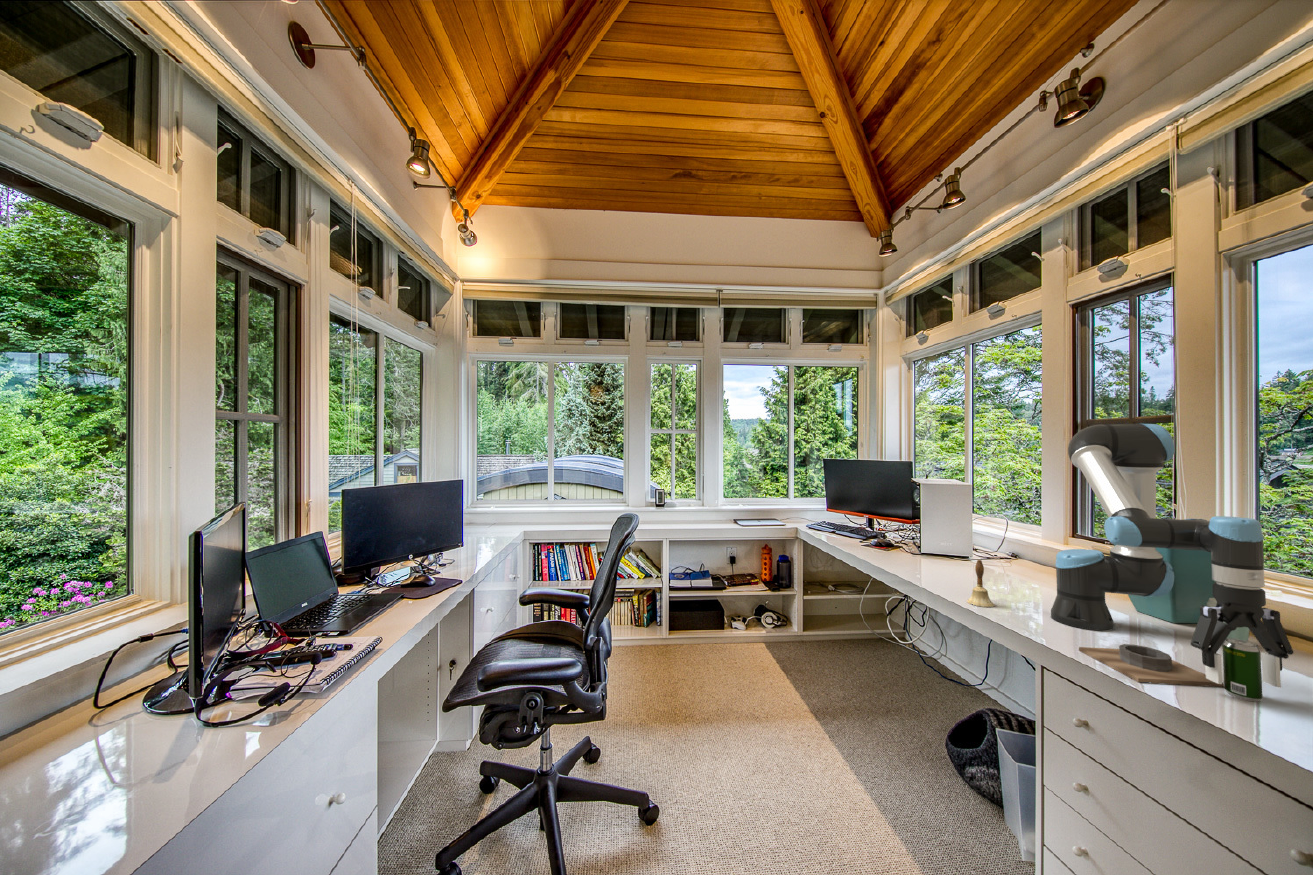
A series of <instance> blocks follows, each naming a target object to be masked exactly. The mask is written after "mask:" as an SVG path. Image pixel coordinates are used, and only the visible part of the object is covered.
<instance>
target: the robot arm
mask: <svg viewBox="0 0 1313 875" xmlns="http://www.w3.org/2000/svg"><path fill="white" fill-rule="evenodd" d="M1175 449H1176V448H1175V442H1174V439H1173V436H1172V435H1171V434H1170V432H1169V431H1168V429H1166V428H1165V427H1164V426H1162V425H1160V424H1156V423H1123V424H1119V423H1117V424H1093V425H1090V426H1088V427H1084V428H1082V429H1080V430H1079V431H1078V432H1077V433H1075V434H1074V435H1073V436H1072V438H1071V440H1070V441H1069V443H1068V446H1067V455H1068V458H1069V460H1070V462H1071V464H1072V465H1073V466H1074V467H1075V468H1078V469H1080V470H1081V472H1082V474H1083V476H1084V479H1086V481H1087V483H1088V484H1089V486H1090V488H1091V489H1092V491H1093V493H1094V494H1095V496H1096V498H1097V500H1098V502H1099V503H1100V505H1101V506H1102V508H1103V509H1104V512H1105V513H1106V515H1107V518H1106V519H1105V521H1104V527H1103V528H1104V532H1105V538H1106V539H1107V540H1108V541H1109V543H1111V544H1113V546H1112V547H1110V549H1109V555H1105V554H1104V553H1103V551H1100V550H1097V549H1087V548H1073V549H1072V548H1071V549H1063V550H1061V551H1059V552H1057V553H1056V556H1055V557H1056V558H1055V564H1054V565H1055V569H1056V570H1055V572H1056V573H1055V574H1056V596H1055V599H1054V601H1053V604H1052V606H1051V608H1050V618H1051V619H1052V620H1054V621H1056V622H1058V623H1060V624H1064V625H1067V626H1070V627H1075V628H1079V629H1085V630H1091V631H1113V630H1114V629H1115V625H1114V624H1115V623H1114V619H1113V616H1112V614H1111V612H1110V609H1109V607H1108V605H1107V603H1106V594H1107V593H1108V594H1109V593H1111V594H1118V595H1119V594H1120V595H1127V596H1128V595H1139V596H1143V597H1148V596H1151V597H1161V596H1164V595H1166V594H1167V593H1169V592H1170V590H1171V589H1172V587H1173V583H1174V572H1173V571H1172V566H1171V565H1170V564H1169V562H1167V561H1166V560H1163V555H1162V554H1160V553H1159V552H1158V551H1157V550H1156V548H1168V549H1184V550H1200V551H1207V552H1210V553H1211V563H1212V580H1214V581H1216V582H1215V583H1213V584H1212V586H1213V597H1214V598H1215V599H1216V601H1217V604H1216V606H1215V607H1207V606H1203V605H1202V606H1200V618H1199V620H1198V623H1196V625H1195V626H1196V627H1195V630H1194V633H1193V636H1192V638H1191V641H1190V646H1192V647H1193V648H1197V649H1199V650H1200V651H1201V656H1202V657H1201V658H1202V661H1201V662H1202V665H1203V666H1205V667H1204V668H1205V669H1204V670H1205V671H1204V672H1205V675H1206V679H1209V680H1211V681H1213V682H1215V683H1217V684H1222V682H1223V672H1222V669H1223V668H1222V667H1223V666H1222V654H1220V653H1217V652H1218V651H1220V648H1221V647H1222V644H1223V643H1224V641H1225V640H1226V638H1227V637H1228V635H1229V634H1230V632H1231V631H1233V630H1236V628H1237V627H1240V628H1241V627H1248V628H1249V629H1250V630H1249V632H1251V633H1252V635H1253V636H1254V638H1255V639H1256V640H1257V642H1258V643H1259V644H1260V645H1261V647H1262V648H1263V649H1264V651H1265V652H1261V651H1260V654H1261V674H1262V683H1263V682H1264V683H1265V684H1269V685H1271V686H1273V687H1276V688H1282V683H1281V682H1282V681H1281V680H1282V679H1281V671H1283V659H1286V660H1287V659H1288V658H1289V656H1291V655H1293V654H1294V650H1293V647H1292V645H1291V642H1290V640H1289V638H1288V636H1287V633H1286V631H1285V629H1284V626H1283V625H1282V622H1281V612H1280V611H1277V610H1275V609H1271V608H1267V607H1265V606H1266V605H1267V600H1266V597H1267V596H1266V591H1265V590H1264V589H1263V588H1265V585H1266V584H1265V583H1266V582H1265V570H1264V569H1265V568H1264V566H1265V564H1264V563H1265V562H1264V561H1265V559H1264V558H1265V557H1264V556H1265V555H1264V534H1263V530H1262V524H1261V522H1260V521H1259V520H1258V519H1255V518H1250V517H1241V516H1225V515H1224V516H1222V515H1221V516H1220V515H1217V516H1216V515H1215V516H1212V517H1210V520H1207V519H1203V518H1185V519H1179V518H1178V519H1172V518H1157V473H1158V472H1159V471H1161V470H1163V469H1164V463H1165V462H1166V463H1167V462H1168V461H1171V460H1173V458H1174V455H1175V452H1176V450H1175ZM1114 544H1115V545H1116V546H1114ZM1223 622H1225V623H1223ZM1226 623H1227V624H1226Z"/></svg>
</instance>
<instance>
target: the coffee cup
mask: <svg viewBox="0 0 1313 875" xmlns="http://www.w3.org/2000/svg"><path fill="white" fill-rule="evenodd" d="M1216 604H1217V601H1216V599H1215V598H1209V600H1208V602H1207V604H1206V605H1207V606H1208V607H1215V606H1216ZM1223 623H1225V622H1223ZM1226 624H1227V623H1226ZM1249 635H1250V629H1249V628H1248V627H1241V628H1240V627H1237V628H1236V630H1233V631H1231V632H1230V634H1229V635H1228V637H1227V638H1232V639H1239V640H1244V641H1248V642H1249Z"/></svg>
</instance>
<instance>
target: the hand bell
mask: <svg viewBox="0 0 1313 875" xmlns="http://www.w3.org/2000/svg"><path fill="white" fill-rule="evenodd" d="M974 569H975V574H976V579H977V580H976V581H977V582H976V587H973V588H972V591H971V592H972V593H971V596H970V597H969V598H968V599H967V600H966V603H968V604H969V605H971V604H973V605H972V606H975V605H976V606H975V607H980V606H981V608H994V607H995V603H993V602H992V600H991V599H990V597H989V593H988V592H989V591H988V590H987V589H986V588H984V586H983V584H984V582H983V577H984V572H985V568H984V564H983V561H982V560H981V559H977V561H976V564H975V568H974Z"/></svg>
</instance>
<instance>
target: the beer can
mask: <svg viewBox="0 0 1313 875" xmlns="http://www.w3.org/2000/svg"><path fill="white" fill-rule="evenodd" d="M1221 647H1222V648H1221V649H1222V665H1223V666H1222V667H1223V668H1222V669H1223V683H1224V687H1223V688H1224V690H1225V693H1227V694H1228V695H1230V696H1232V697H1234V696H1235V697H1234V698H1237V697H1238V698H1237V699H1240V698H1241V699H1240V700H1243V699H1244V700H1245V701H1248V700H1249V701H1250V702H1261V701H1262V700H1263V698H1264V696H1263V678H1262V658H1261V649H1260V647H1259V645H1258V644H1256V643H1253V642H1250V641H1249V640H1248V641H1244V640H1239V639H1232V638H1226V640H1225V641H1224V643H1223V644H1222V645H1221Z"/></svg>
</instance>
